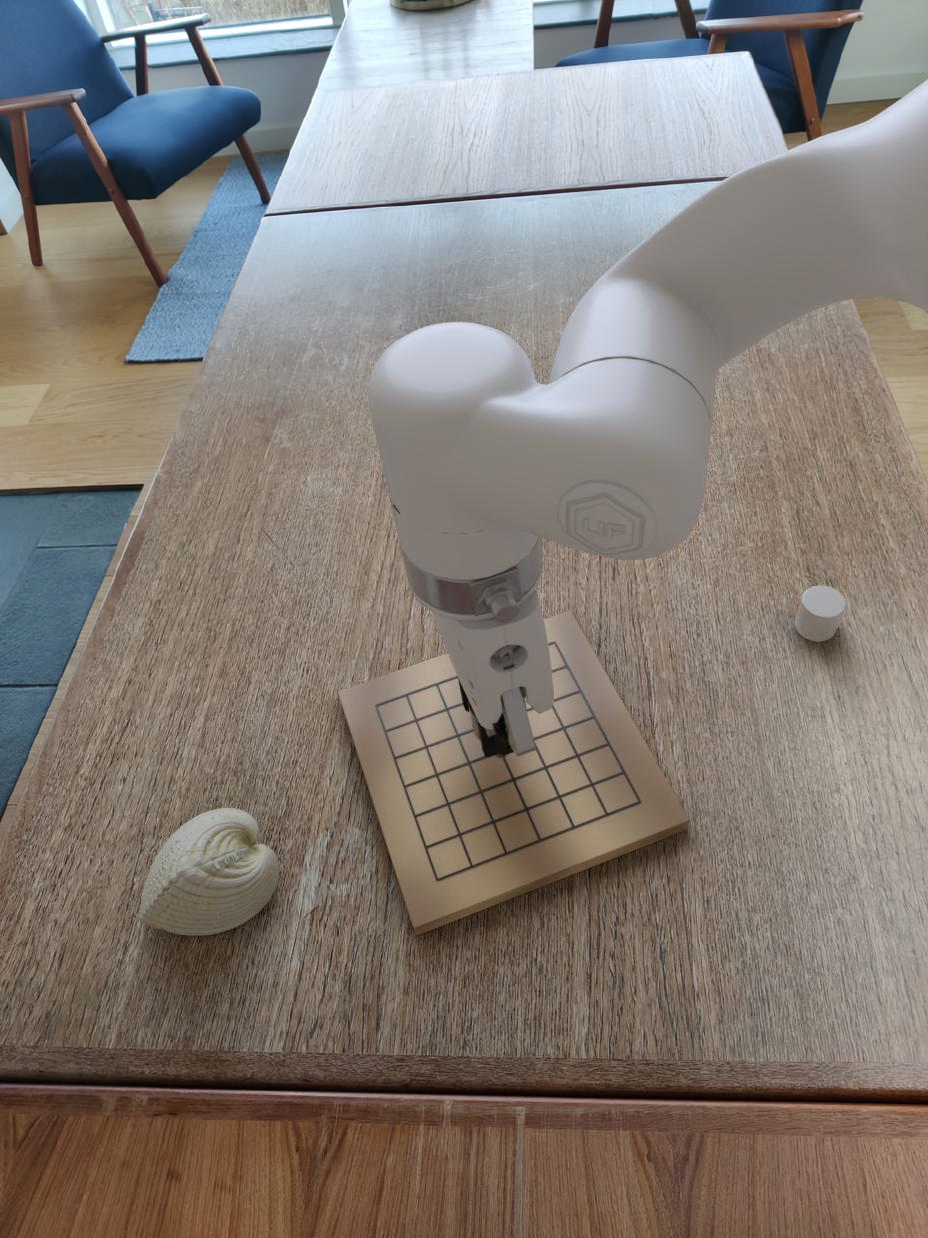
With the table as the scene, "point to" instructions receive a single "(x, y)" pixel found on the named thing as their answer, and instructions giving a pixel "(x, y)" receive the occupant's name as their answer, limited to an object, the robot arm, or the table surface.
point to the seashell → (209, 875)
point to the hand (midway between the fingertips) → (495, 723)
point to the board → (504, 783)
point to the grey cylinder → (819, 613)
